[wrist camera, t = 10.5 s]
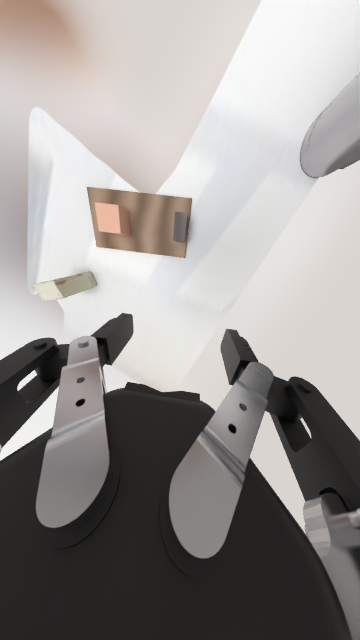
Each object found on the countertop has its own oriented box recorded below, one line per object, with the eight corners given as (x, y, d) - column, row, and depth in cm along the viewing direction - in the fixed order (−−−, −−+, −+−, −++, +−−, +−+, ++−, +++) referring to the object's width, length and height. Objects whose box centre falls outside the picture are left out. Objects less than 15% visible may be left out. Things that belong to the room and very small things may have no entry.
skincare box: (91, 271, 41) (54, 279, 30) (98, 285, 42) (65, 298, 32) (73, 275, 42) (31, 284, 31) (80, 288, 44) (43, 302, 33)
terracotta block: (128, 210, 32) (118, 204, 28) (130, 235, 34) (120, 233, 30) (108, 208, 32) (94, 202, 28) (111, 233, 35) (98, 231, 30)
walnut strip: (191, 199, 30) (190, 189, 25) (184, 257, 36) (183, 259, 31) (89, 188, 31) (68, 176, 26) (98, 246, 37) (83, 246, 32)
